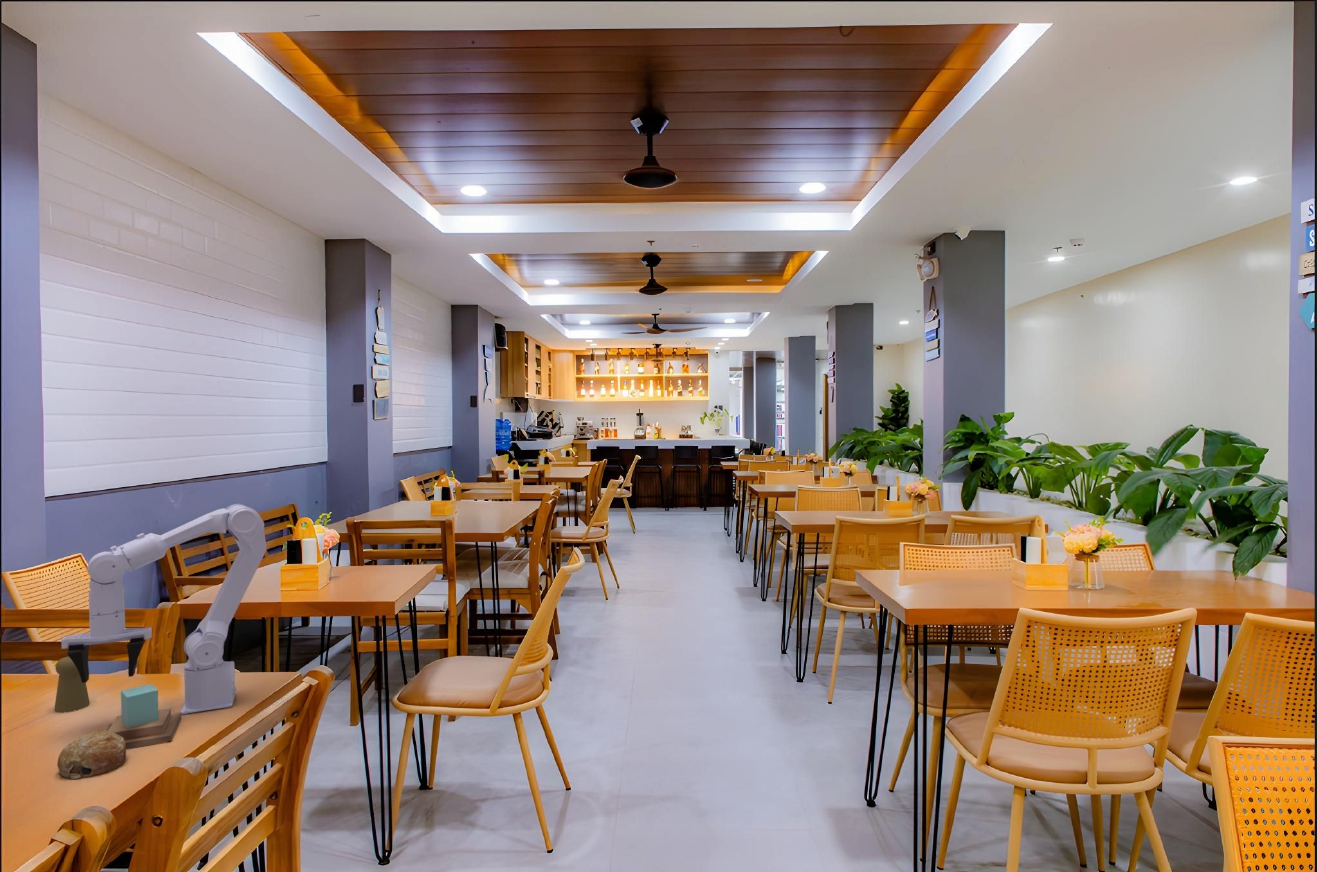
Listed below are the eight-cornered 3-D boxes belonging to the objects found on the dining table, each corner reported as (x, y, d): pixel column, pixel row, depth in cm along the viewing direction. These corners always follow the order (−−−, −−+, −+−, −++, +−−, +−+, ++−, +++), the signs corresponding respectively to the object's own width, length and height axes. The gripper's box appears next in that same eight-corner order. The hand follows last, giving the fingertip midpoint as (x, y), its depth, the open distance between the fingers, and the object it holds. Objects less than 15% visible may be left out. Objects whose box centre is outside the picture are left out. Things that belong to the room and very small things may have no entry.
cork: (69, 713, 153) (68, 662, 153) (46, 711, 155) (45, 660, 154) (97, 702, 159) (95, 653, 159) (74, 700, 160) (73, 651, 160)
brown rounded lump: (53, 800, 125) (44, 767, 122) (71, 752, 134) (63, 721, 130) (122, 788, 129) (116, 756, 126) (135, 742, 138) (129, 711, 134)
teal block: (151, 713, 146) (151, 683, 146) (158, 720, 142) (157, 690, 142) (121, 721, 142) (120, 690, 142) (127, 728, 139) (127, 697, 139)
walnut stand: (181, 718, 150) (180, 704, 150) (170, 741, 140) (170, 726, 139) (110, 729, 145) (110, 714, 145) (94, 754, 134) (93, 738, 134)
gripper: (154, 603, 153) (155, 666, 153) (68, 611, 147) (70, 677, 147) (147, 610, 147) (148, 677, 147) (57, 619, 140) (59, 689, 141)
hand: (108, 678), depth 147 cm, fingers open, 7 cm apart
